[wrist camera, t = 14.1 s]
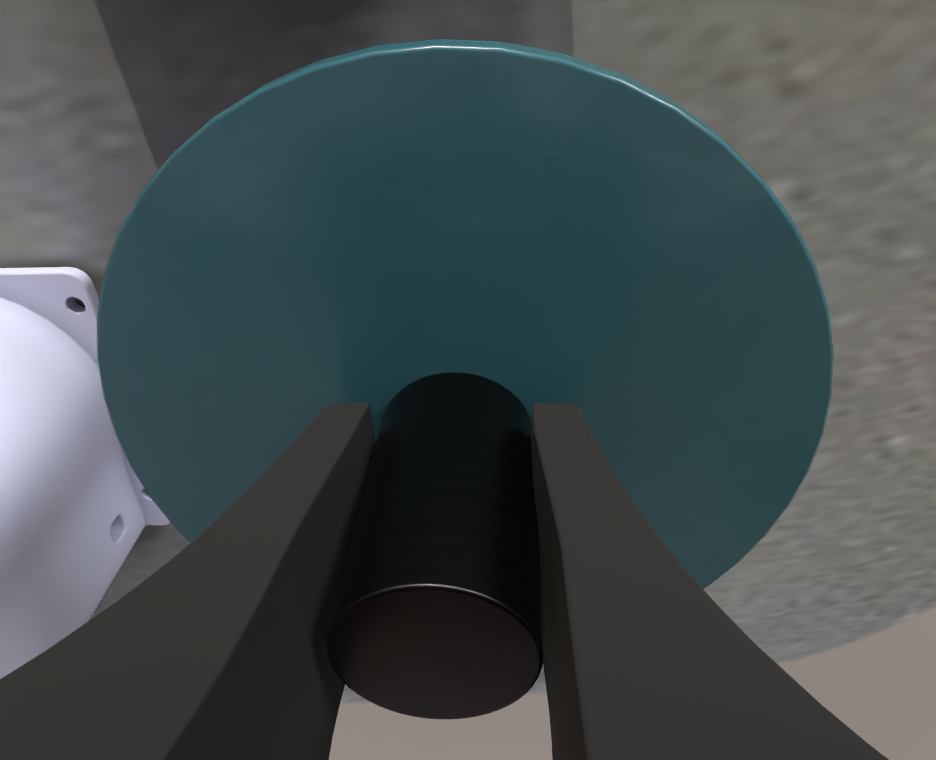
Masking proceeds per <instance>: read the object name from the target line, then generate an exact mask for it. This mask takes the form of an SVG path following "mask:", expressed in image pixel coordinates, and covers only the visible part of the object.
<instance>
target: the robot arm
mask: <svg viewBox="0 0 936 760" xmlns="http://www.w3.org/2000/svg"><path fill="white" fill-rule="evenodd" d="M74 297H75V298H78V299H80V300H81V301H82V302H83V303H84V305H85V307H81V306H80V305H78V304H77V303H76V302H75V300H74ZM98 306H99V297H98V295H97V292H96V289H95V286H94V284H93V282H92V280H91V278H90V277H89V276H88V275H87V274H86V273H85V272H83V271H81V270H79V269H77V268H73V267H39V268H0V760H328V759H329V753H330V747H331V742H332V735H333V732H334V726H335V722H336V717H337V714H338V709H339V705H340V701H341V697H342V693H343V689H344V686H345V683H344V682H343V681H342V680H341V679H340V677H339V676H338V675H337V674H336V672H335V670H334V669H333V667H332V665H331V662H330V659H329V656H328V651H327V635H328V631H329V627H330V623H331V619H332V615H333V611H334V607H335V603H336V599H337V595H338V591H339V588H340V584H341V580H342V576H343V572H344V568H345V564H346V560H347V556H348V552H349V548H350V544H351V540H352V536H353V532H354V528H355V524H356V520H357V517H358V513H359V509H360V505H361V501H362V497H363V493H364V489H365V485H366V481H367V477H368V473H369V469H370V465H371V461H372V457H373V453H374V449H375V445H376V441H375V434H374V427H373V420H372V413H371V405H370V403H329V404H328V405H327V406H326V407H325V408H324V409H323V410H322V411H321V412H320V413H319V414H318V415H317V416H316V418H315V419H314V420H313V421H312V422H311V423H310V424H309V425H308V426H307V427H306V428H305V430H304V431H303V432H302V433H301V434H300V435H299V436H298V437H297V438H296V439H295V441H294V442H293V443H292V444H291V445H290V446H289V447H288V448H287V449H286V450H285V451H284V452H283V453H282V455H281V456H280V457H279V458H278V459H277V460H276V461H275V462H274V463H273V464H272V465H271V466H270V467H269V468H268V469H267V470H266V471H265V472H264V473H263V474H262V475H261V476H260V478H259V479H258V480H257V481H256V482H255V483H254V484H253V485H252V486H251V487H250V488H249V489H248V490H247V491H246V492H245V493H244V494H243V495H242V496H241V497H240V498H239V499H238V500H237V501H236V502H235V503H234V504H233V505H232V506H230V507H229V508H228V509H227V510H226V511H225V512H224V513H223V514H222V515H221V516H220V517H219V518H218V519H217V520H215V521H214V522H213V523H212V524H211V525H210V526H209V527H208V528H207V529H206V530H205V531H204V532H203V533H202V534H200V535H199V536H198V537H197V538H196V539H195V540H194V541H193V542H192V543H190V544H189V545H188V546H187V547H186V548H185V549H183V550H182V551H181V552H180V553H179V554H178V555H176V556H175V557H174V558H173V559H172V560H170V561H169V562H168V563H167V564H165V565H164V566H163V567H162V568H160V569H159V570H158V571H156V572H155V573H154V574H153V575H151V576H150V577H149V578H148V579H146V580H145V581H144V582H142V583H141V584H140V585H139V586H137V587H136V588H135V589H133V590H132V591H131V592H129V593H128V594H127V595H125V596H124V597H123V598H121V599H120V600H119V601H117V602H116V603H114V604H113V605H111V606H110V607H108V608H107V609H106V610H104V611H103V612H101V613H100V614H98V615H97V616H95V617H94V618H93V619H91V620H90V618H91V616H92V615H93V613H94V611H95V610H96V608H97V606H98V604H99V603H100V601H101V599H102V598H103V596H104V594H105V593H106V591H107V589H108V588H109V586H110V584H111V583H112V581H113V579H114V578H115V576H116V574H117V573H118V571H119V569H120V568H121V566H122V564H123V562H124V561H125V559H126V557H127V556H128V554H129V552H130V551H131V549H132V547H133V546H134V544H135V542H136V541H137V539H138V537H139V536H140V534H141V532H142V531H143V529H144V527H145V525H168V524H170V523H171V522H170V521H169V520H168V519H167V517H166V516H165V515H164V514H163V513H162V511H161V510H160V509H159V508H158V507H157V505H156V504H155V503H154V502H153V500H152V499H151V498H150V496H149V495H148V493H147V492H146V490H145V488H144V487H143V485H142V484H141V482H140V481H139V479H138V478H137V476H136V475H135V473H134V471H133V470H132V468H131V467H130V464H129V462H128V460H127V458H126V456H125V454H124V452H123V450H122V448H121V446H120V443H119V441H118V439H117V437H116V435H115V433H114V430H113V426H112V423H111V420H110V417H109V414H108V411H107V407H106V404H105V401H104V398H103V393H102V387H101V381H100V374H99V368H98V362H97V312H98ZM531 445H532V473H533V489H534V497H535V506H536V516H537V525H538V543H539V566H540V590H541V614H542V638H543V665H544V673H545V681H546V689H547V697H548V705H549V713H550V725H551V737H552V755H553V760H888V759H887V758H886V757H884V756H883V755H882V754H880V753H879V752H878V751H877V750H875V749H874V748H873V747H872V746H870V745H869V744H868V743H866V742H865V741H864V740H863V739H862V738H861V737H859V736H858V735H857V734H856V733H855V732H853V731H852V730H851V729H850V728H849V727H847V726H846V725H845V724H844V723H843V722H841V721H840V720H839V719H838V718H836V717H835V716H834V715H833V714H832V713H831V712H829V711H828V710H827V709H826V708H825V707H823V706H822V705H821V704H820V703H819V702H818V701H817V700H815V698H813V697H812V696H811V695H810V694H809V693H808V692H807V691H806V690H805V689H804V688H803V687H802V686H800V685H799V684H798V683H797V682H796V681H795V680H794V679H793V678H792V677H791V676H789V675H788V674H787V673H786V672H785V671H784V670H783V669H782V668H781V667H780V666H779V665H778V664H776V663H775V662H774V661H773V660H772V659H771V658H770V657H769V656H768V655H767V654H766V653H765V652H763V651H762V650H761V649H760V648H759V647H758V646H757V645H756V644H755V643H754V642H753V641H752V640H751V639H750V638H749V637H748V636H747V635H746V634H745V633H744V632H743V631H742V630H741V629H740V628H739V627H738V626H737V625H736V624H735V623H734V622H733V621H732V620H731V619H730V618H729V617H728V616H727V615H726V614H725V613H724V612H723V611H722V610H721V608H720V607H719V606H718V605H717V604H716V603H715V602H714V601H713V600H712V599H711V598H710V596H709V595H708V594H707V593H706V592H705V591H704V590H703V589H702V588H701V587H700V585H699V584H698V583H697V582H696V581H695V580H694V579H693V578H692V576H691V575H690V574H689V573H688V572H687V570H686V569H685V568H684V567H683V566H682V565H681V563H680V562H679V561H678V560H677V558H676V557H675V556H674V555H673V554H672V552H671V551H670V550H669V549H668V547H667V546H666V545H665V543H664V542H663V541H662V539H661V538H660V537H659V536H658V534H657V533H656V532H655V530H654V529H653V528H652V526H651V525H650V524H649V522H648V521H647V520H646V518H645V517H644V515H643V514H642V513H641V511H640V510H639V509H638V507H637V506H636V504H635V503H634V501H633V500H632V498H631V497H630V495H629V494H628V492H627V491H626V489H625V488H624V486H623V485H622V483H621V482H620V480H619V479H618V477H617V476H616V474H615V473H614V471H613V469H612V468H611V466H610V464H609V463H608V461H607V459H606V458H605V456H604V454H603V452H602V451H601V449H600V447H599V446H598V444H597V442H596V440H595V438H594V436H593V434H592V432H591V430H590V429H589V427H588V424H587V422H586V420H585V418H584V416H583V413H582V411H581V409H580V408H579V407H578V406H577V405H576V404H575V403H532V424H531ZM89 620H90V621H89Z"/></svg>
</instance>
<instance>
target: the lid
mask: <svg viewBox="0 0 936 760" xmlns="http://www.w3.org/2000/svg"><path fill="white" fill-rule="evenodd" d="M97 362H98V368H99V374H100V381H101V387H102V393H103V398H104V401H105V404H106V407H107V411H108V414H109V417H110V420H111V423H112V426H113V430H114V433H115V435H116V437H117V439H118V441H119V443H120V446H121V448H122V450H123V452H124V454H125V456H126V458H127V460H128V462H129V464H130V467H131V468H132V470H133V471H134V473H135V475H136V476H137V478H138V479H139V481H140V482H141V484H142V485H143V487H144V488H145V490H146V492H147V493H148V495H149V496H150V498H151V499H152V500H153V502H154V503H155V504H156V505H157V507H158V508H159V509H160V510H161V511H162V513H163V514H164V515H165V516H166V517H167V519H168V520H169V521H170V522H171V523H172V525H173V526H174V527H175V528H176V529H177V530H178V531H179V532H180V533H181V534H182V535H183V536H184V537H185V538H186V539H187V540H188V541H189V542H190V543H192V542H193V541H194V540H195V539H196V538H197V537H198V536H199V535H200V534H202V533H203V532H204V531H205V530H206V529H207V528H208V527H209V526H210V525H211V524H212V523H213V522H214V521H215V520H217V519H218V518H219V517H220V516H221V515H222V514H223V513H224V512H225V511H226V510H227V509H228V508H229V507H230V506H232V505H233V504H234V503H235V502H236V501H237V500H238V499H239V498H240V497H241V496H242V495H243V494H244V493H245V492H246V491H247V490H248V489H249V488H250V487H251V486H252V485H253V484H254V483H255V482H256V481H257V480H258V479H259V478H260V476H261V475H262V474H263V473H264V472H265V471H266V470H267V469H268V468H269V467H270V466H271V465H272V464H273V463H274V462H275V461H276V460H277V459H278V458H279V457H280V456H281V455H282V453H283V452H284V451H285V450H286V449H287V448H288V447H289V446H290V445H291V444H292V443H293V442H294V441H295V439H296V438H297V437H298V436H299V435H300V434H301V433H302V432H303V431H304V430H305V428H306V427H307V426H308V425H309V424H310V423H311V422H312V421H313V420H314V419H315V418H316V416H317V415H318V414H319V413H320V412H321V411H322V410H323V409H324V408H325V407H326V406H327V405H328V404H329V403H370V405H371V413H372V420H373V427H374V434H375V441H376V445H375V449H374V453H373V457H372V461H371V465H370V469H369V473H368V477H367V481H366V485H365V489H364V493H363V497H362V501H361V505H360V509H359V513H358V517H357V520H356V524H355V528H354V532H353V536H352V540H351V544H350V548H349V552H348V556H347V560H346V564H345V568H344V572H343V576H342V580H341V584H340V588H339V591H338V595H337V599H336V603H335V607H334V611H333V615H332V619H331V623H330V627H329V631H328V635H327V651H328V656H329V659H330V662H331V665H332V667H333V669H334V670H335V672H336V674H337V675H338V676H339V677H340V679H341V680H342V681H343V682H344V683H345V684H346V685H347V686H348V687H349V688H350V689H351V690H353V691H354V692H355V693H357V694H358V695H360V696H361V697H363V698H364V699H366V700H368V701H370V702H372V703H374V704H376V705H378V706H380V707H383V708H385V709H388V710H391V711H395V712H397V713H401V714H405V715H409V716H414V717H421V718H428V719H460V718H470V717H476V716H480V715H484V714H488V713H491V712H494V711H497V710H500V709H502V708H504V707H506V706H508V705H510V704H512V703H514V702H515V701H517V700H518V699H520V698H521V697H522V696H523V695H525V694H526V693H527V692H528V691H529V690H530V688H531V687H532V686H533V685H534V683H535V682H536V680H537V678H538V676H539V674H540V671H541V668H542V664H543V638H542V614H541V590H540V566H539V543H538V525H537V516H536V506H535V497H534V489H533V473H532V445H531V424H532V403H575V404H576V405H577V406H578V407H579V408H580V409H581V411H582V413H583V416H584V418H585V420H586V422H587V424H588V427H589V429H590V430H591V432H592V434H593V436H594V438H595V440H596V442H597V444H598V446H599V447H600V449H601V451H602V452H603V454H604V456H605V458H606V459H607V461H608V463H609V464H610V466H611V468H612V469H613V471H614V473H615V474H616V476H617V477H618V479H619V480H620V482H621V483H622V485H623V486H624V488H625V489H626V491H627V492H628V494H629V495H630V497H631V498H632V500H633V501H634V503H635V504H636V506H637V507H638V509H639V510H640V511H641V513H642V514H643V515H644V517H645V518H646V520H647V521H648V522H649V524H650V525H651V526H652V528H653V529H654V530H655V532H656V533H657V534H658V536H659V537H660V538H661V539H662V541H663V542H664V543H665V545H666V546H667V547H668V549H669V550H670V551H671V552H672V554H673V555H674V556H675V557H676V558H677V560H678V561H679V562H680V563H681V565H682V566H683V567H684V568H685V569H686V570H687V572H688V573H689V574H690V575H691V576H692V578H693V579H694V580H695V581H696V582H697V583H698V584H699V585H700V587H701V588H702V589H704V588H705V587H707V586H709V585H710V584H712V583H713V582H714V581H715V580H717V579H718V578H719V577H720V576H722V575H723V574H724V573H725V572H727V571H728V570H729V569H731V568H732V567H733V566H734V565H736V564H737V563H738V562H739V561H741V560H742V559H743V557H744V556H745V555H746V554H747V553H748V552H749V551H750V550H751V549H752V548H753V547H754V546H755V545H756V544H757V543H758V542H759V541H760V540H761V539H762V538H763V537H764V536H765V535H766V534H767V533H768V532H769V530H770V529H771V528H772V527H773V525H774V524H775V523H776V521H777V520H778V519H779V517H780V516H781V515H782V514H783V512H784V511H785V510H786V508H787V507H788V506H789V504H790V503H791V501H792V499H793V497H794V496H795V494H796V492H797V490H798V489H799V487H800V485H801V483H802V482H803V480H804V478H805V476H806V475H807V473H808V471H809V469H810V466H811V463H812V461H813V458H814V456H815V453H816V451H817V448H818V446H819V443H820V440H821V438H822V435H823V431H824V426H825V422H826V417H827V413H828V408H829V404H830V399H831V391H832V372H833V344H832V336H831V327H830V319H829V310H828V306H827V303H826V299H825V296H824V293H823V289H822V286H821V283H820V279H819V276H818V273H817V269H816V266H815V264H814V262H813V260H812V257H811V255H810V253H809V251H808V249H807V247H806V245H805V243H804V241H803V239H802V237H801V235H800V233H799V231H798V229H797V227H796V225H795V223H794V221H793V220H792V218H791V217H790V216H789V214H788V213H787V212H786V210H785V209H784V207H783V206H782V205H781V203H780V202H779V201H778V199H777V198H776V196H775V195H774V194H773V192H772V191H771V189H770V188H769V187H768V185H767V184H766V183H765V181H764V180H763V179H762V178H761V176H760V175H759V174H758V173H757V172H756V171H755V170H754V169H753V168H752V167H751V166H750V165H749V164H748V163H747V162H746V161H745V160H744V159H743V158H742V157H741V156H740V155H739V154H738V153H737V152H736V151H735V150H734V149H733V148H732V147H731V146H730V145H729V144H728V143H727V142H726V141H725V140H724V139H723V138H722V137H721V136H720V135H719V134H718V133H717V132H715V131H714V130H713V129H711V128H710V127H709V126H707V125H706V124H704V123H703V122H702V121H700V120H699V119H697V118H696V117H695V116H693V115H692V114H691V113H689V112H688V111H686V110H685V109H684V108H682V107H681V106H679V105H678V104H677V103H675V102H674V101H673V100H671V99H669V98H667V97H665V96H664V95H662V94H660V93H658V92H656V91H654V90H652V89H650V88H648V87H646V86H644V85H642V84H640V83H638V82H636V81H634V80H632V79H631V78H629V77H627V76H625V75H623V74H621V73H619V72H616V71H613V70H610V69H607V68H604V67H601V66H598V65H596V64H593V63H590V62H587V61H584V60H581V59H578V58H575V57H572V56H569V55H566V54H563V53H560V52H554V51H549V50H544V49H538V48H533V47H527V46H522V45H517V44H511V43H506V42H500V41H476V40H451V39H434V40H424V41H415V42H405V43H396V44H386V45H377V46H374V47H370V48H366V49H362V50H358V51H354V52H350V53H346V54H342V55H339V56H335V57H331V58H327V59H323V60H320V61H317V62H315V63H313V64H310V65H308V66H306V67H303V68H301V69H299V70H296V71H294V72H291V73H289V74H287V75H284V76H282V77H280V78H277V79H275V80H273V81H270V82H268V83H266V84H265V85H263V86H262V87H260V88H258V89H257V90H255V91H254V92H252V93H250V94H249V95H247V96H246V97H244V98H242V99H241V100H239V101H238V102H236V103H234V104H233V105H231V106H230V107H228V108H226V109H225V110H223V111H222V112H220V113H219V114H217V115H216V116H215V117H213V118H212V119H211V120H210V121H208V122H207V123H206V124H205V125H204V126H203V127H202V128H200V129H199V130H198V131H197V132H196V133H195V134H194V135H192V136H191V137H190V138H189V139H188V140H187V141H186V142H184V143H183V144H182V145H181V146H180V147H179V148H178V149H177V150H175V151H174V152H173V153H172V154H171V155H170V157H169V158H168V159H167V160H166V162H165V163H164V164H163V165H162V167H161V168H160V169H159V170H158V171H157V173H156V174H155V175H154V176H153V178H152V179H151V180H150V181H149V183H148V184H147V185H146V186H145V188H144V189H143V190H142V191H141V193H140V195H139V196H138V198H137V200H136V202H135V204H134V205H133V207H132V209H131V211H130V213H129V214H128V216H127V218H126V220H125V221H124V223H123V225H122V227H121V229H120V230H119V232H118V235H117V238H116V241H115V244H114V247H113V249H112V252H111V255H110V258H109V261H108V264H107V267H106V269H105V272H104V277H103V283H102V289H101V294H100V300H99V306H98V312H97Z"/></svg>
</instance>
